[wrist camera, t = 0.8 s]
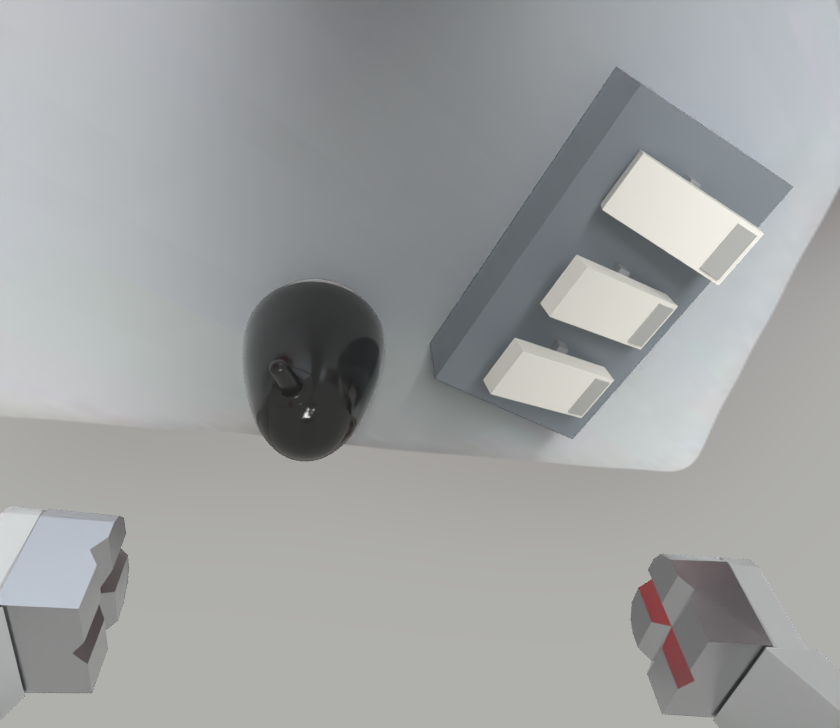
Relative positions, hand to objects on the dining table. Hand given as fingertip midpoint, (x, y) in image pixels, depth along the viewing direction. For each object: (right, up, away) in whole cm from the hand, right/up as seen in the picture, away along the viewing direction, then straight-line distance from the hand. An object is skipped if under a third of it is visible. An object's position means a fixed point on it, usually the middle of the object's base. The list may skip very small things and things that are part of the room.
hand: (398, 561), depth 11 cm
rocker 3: (+17, +12, +33) cm, 39 cm away
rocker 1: (+13, +7, +36) cm, 39 cm away
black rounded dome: (-8, +7, +44) cm, 45 cm away
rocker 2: (+10, +2, +39) cm, 40 cm away
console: (+13, +11, +42) cm, 45 cm away
